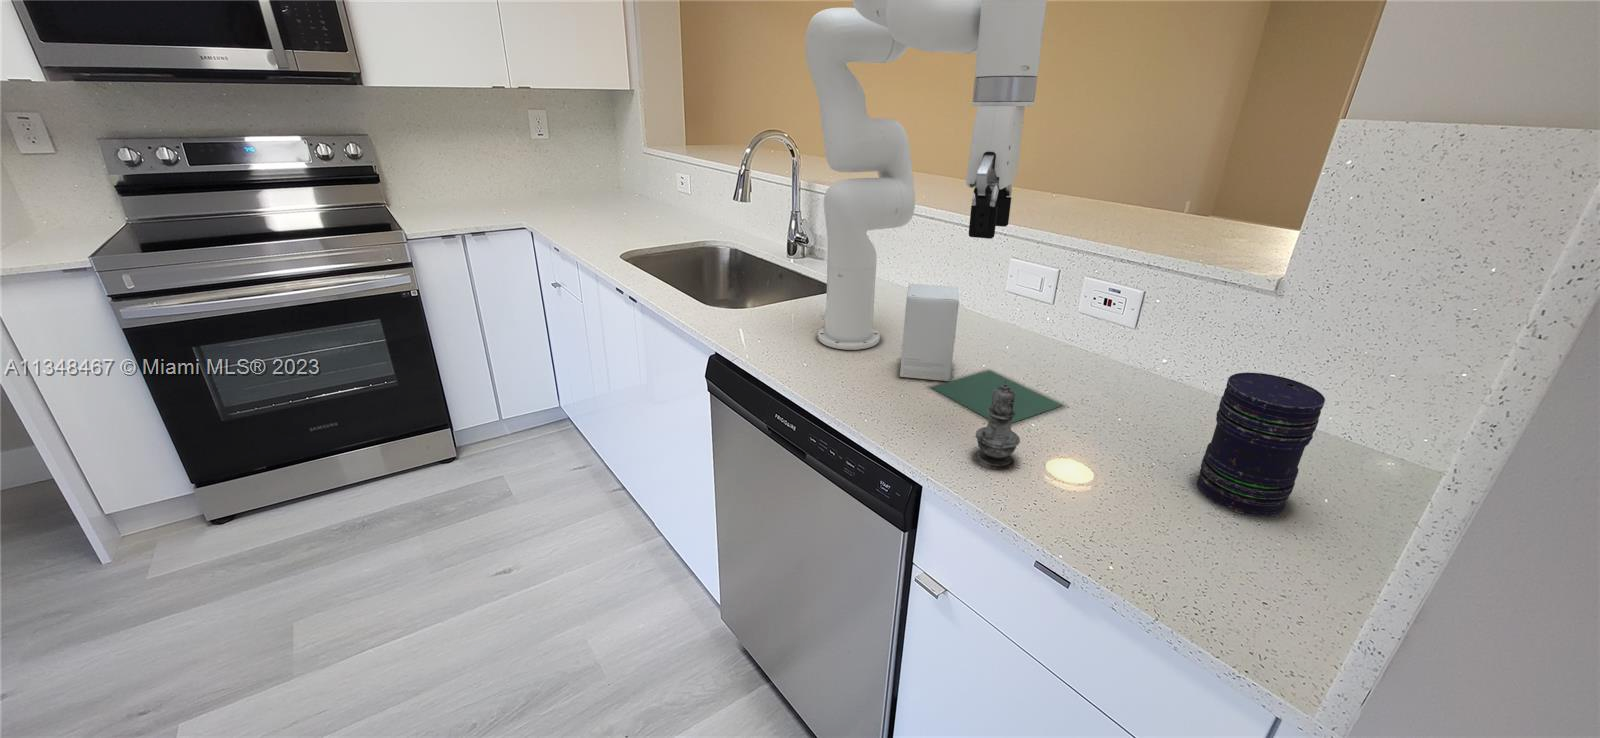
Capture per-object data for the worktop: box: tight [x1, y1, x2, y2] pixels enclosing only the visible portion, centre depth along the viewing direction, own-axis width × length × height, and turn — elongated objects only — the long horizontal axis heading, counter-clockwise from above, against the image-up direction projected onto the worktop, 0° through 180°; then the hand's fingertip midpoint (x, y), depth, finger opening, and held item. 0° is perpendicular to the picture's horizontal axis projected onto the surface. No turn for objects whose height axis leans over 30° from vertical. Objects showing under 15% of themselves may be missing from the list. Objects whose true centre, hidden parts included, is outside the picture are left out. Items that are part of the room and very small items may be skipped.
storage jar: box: [1196, 372, 1326, 518], centre depth 80 cm, size 10×10×15 cm
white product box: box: [899, 283, 960, 382], centre depth 115 cm, size 9×9×15 cm
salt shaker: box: [974, 381, 1021, 470], centre depth 88 cm, size 6×6×12 cm
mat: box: [930, 370, 1063, 425], centre depth 108 cm, size 16×14×1 cm
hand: (988, 231), depth 87 cm, fingers open, 9 cm apart
